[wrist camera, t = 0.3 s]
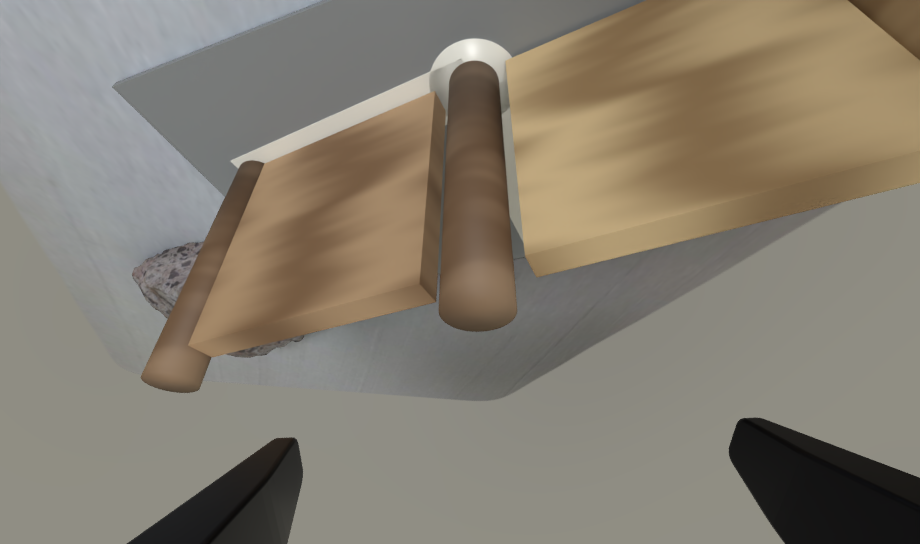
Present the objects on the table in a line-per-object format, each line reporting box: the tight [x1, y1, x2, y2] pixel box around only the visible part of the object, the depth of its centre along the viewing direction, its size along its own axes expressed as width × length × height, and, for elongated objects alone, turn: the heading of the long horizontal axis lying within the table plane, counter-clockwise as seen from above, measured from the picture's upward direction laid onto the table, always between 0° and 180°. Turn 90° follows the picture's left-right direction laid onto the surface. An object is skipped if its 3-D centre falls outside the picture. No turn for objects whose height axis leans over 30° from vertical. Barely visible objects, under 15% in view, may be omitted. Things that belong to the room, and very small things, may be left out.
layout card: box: [113, 0, 646, 274], centre depth 21 cm, size 16×24×1 cm, turn 109°
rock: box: [132, 242, 304, 357], centre depth 28 cm, size 9×11×4 cm
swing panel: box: [505, 0, 920, 277], centre depth 12 cm, size 11×2×10 cm, turn 114°
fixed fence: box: [141, 61, 517, 393], centre depth 17 cm, size 13×2×11 cm, turn 114°
